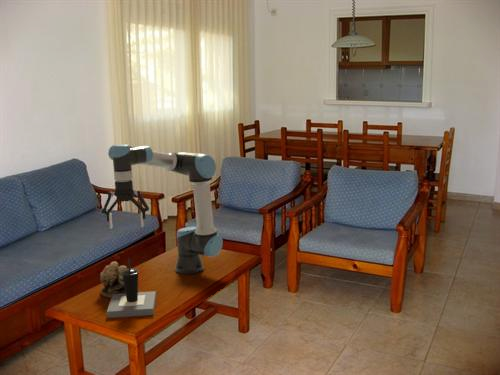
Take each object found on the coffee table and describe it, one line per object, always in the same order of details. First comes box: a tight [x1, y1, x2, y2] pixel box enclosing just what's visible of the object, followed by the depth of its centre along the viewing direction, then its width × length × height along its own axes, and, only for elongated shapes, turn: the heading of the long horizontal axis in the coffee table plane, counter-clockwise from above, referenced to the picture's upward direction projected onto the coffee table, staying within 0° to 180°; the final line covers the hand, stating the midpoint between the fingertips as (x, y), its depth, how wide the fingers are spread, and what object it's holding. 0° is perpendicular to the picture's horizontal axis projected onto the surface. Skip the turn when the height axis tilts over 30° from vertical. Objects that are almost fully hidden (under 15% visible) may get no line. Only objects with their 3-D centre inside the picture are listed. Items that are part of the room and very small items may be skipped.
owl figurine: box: [99, 261, 128, 300], centre depth 266 cm, size 18×12×17 cm, turn 71°
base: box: [106, 290, 157, 319], centre depth 251 cm, size 20×20×3 cm
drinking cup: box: [121, 257, 140, 302], centre depth 249 cm, size 8×8×20 cm
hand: (127, 227), depth 244 cm, fingers open, 13 cm apart
